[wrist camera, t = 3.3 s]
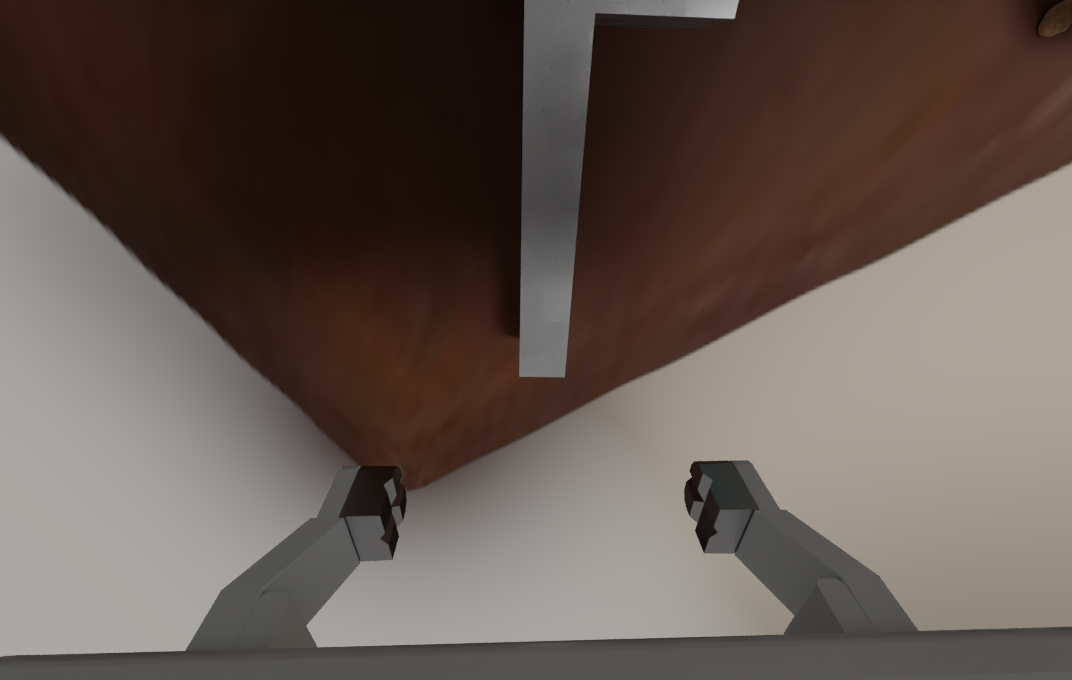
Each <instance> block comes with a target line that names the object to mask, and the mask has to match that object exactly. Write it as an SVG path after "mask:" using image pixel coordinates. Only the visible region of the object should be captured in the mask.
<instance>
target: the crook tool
mask: <svg viewBox="0 0 1072 680" xmlns="http://www.w3.org/2000/svg"><path fill="white" fill-rule="evenodd" d="M738 2H739V0H524V69H523V144H522V220H521V295H520V370H519V377H565V367H566V355H567V343H568V331H569V320H570V308H571V296H572V284H573V272H574V260H575V248H576V236H577V224H578V212H579V200H580V188H581V176H582V164H583V153H584V141H585V129H586V117H587V105H588V93H589V81H590V69H591V57H592V45H593V33H594V26H616V27H640V28H665V29H689V30H697V29H701V28H704V27H708V26H711V25H715V24H718V23H722V22H725V21H729V20H732V19H735V15H736V11H737V6H738Z"/></svg>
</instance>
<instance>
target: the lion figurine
mask: <svg viewBox="0 0 1072 680" xmlns="http://www.w3.org/2000/svg"><path fill="white" fill-rule="evenodd" d="M1071 24H1072V0H1065V1H1062V2H1060V3H1058V4H1057V5H1055V6H1053V7H1052V8H1050V9H1049V10H1048V11H1047V13H1046V14H1045V16H1044V17H1043V19H1042V21H1041V23H1040V25H1039V27H1038V33H1039V35H1040V36H1044V37H1051V36H1054V35H1056V34H1059V33H1061V32H1063V31H1065V30H1067V28H1068V27H1069V26H1070V25H1071Z"/></svg>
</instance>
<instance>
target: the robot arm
mask: <svg viewBox="0 0 1072 680" xmlns="http://www.w3.org/2000/svg"><path fill="white" fill-rule="evenodd" d="M690 473H691V476H692V478H691V479H689V480H688V481H687V482H686V486H685V490H684V494H685V496H684V497H685V504H686V508H687V511H688V513H689V516H690V517H691V518H692V519H694V520H695V521H696V522H697V526H696V529H695V532H696V534H697V537H698V539H699V542H700V544H701V547H702V549H703V552H704V553H736V554H735V556H737V558H739V560H741V562H742V563H743V564H744V565H745V566H746V567H747V568H748V569H749V570H750V571H751V572H752V573H753V574H754V575H755V576H756V577H757V578H758V579H759V580H760V581H761V582H762V583H763V584H764V585H765V586H766V587H767V588H768V589H769V590H770V591H771V592H772V593H773V594H774V595H775V596H776V597H777V598H778V599H779V600H780V601H781V602H782V603H783V604H784V605H785V606H786V607H787V608H788V609H789V610H790V611H791V612H792V613H793V614H794V615H795V616H794V618H793V619H792V621H791V623H790V624H789V626H788V627H787V629H786V631H785V633H784V635H761V636H760V635H759V636H758V635H757V636H723V637H722V636H721V637H684V638H648V639H647V638H646V639H612V640H611V639H608V640H572V641H538V642H537V641H536V642H503V643H465V644H432V645H431V644H430V645H429V644H428V645H394V646H356V647H320V648H317V646H316V644H315V642H314V640H313V638H312V636H311V634H310V632H309V631H308V629H307V627H306V625H307V624H308V623H309V621H310V620H311V619H312V618H313V617H314V616H315V615H316V613H317V612H318V611H319V610H320V609H321V608H322V606H323V605H324V604H325V603H326V602H327V601H328V600H329V598H330V597H331V596H332V595H333V594H334V593H335V591H336V590H337V589H338V588H339V587H340V586H341V585H342V583H343V582H344V581H345V580H346V579H347V578H348V576H349V575H350V574H351V573H352V572H353V571H354V570H355V568H356V567H357V566H358V565H359V564H360V562H359V561H377V560H392V559H393V556H394V552H395V549H396V545H397V541H398V538H399V534H398V530H397V526H399V525H400V523H402V522H403V519H404V515H405V510H406V502H407V498H406V488H405V486H404V485H403V484H402V483H401V479H402V471H401V467H399V466H343V467H342V468H341V469H340V470H339V471H338V473H337V476H336V478H335V480H334V482H333V484H332V486H331V488H330V490H329V492H328V495H327V497H326V499H325V501H324V503H323V505H322V507H321V509H320V512H319V514H318V516H317V518H310V519H309V520H308V521H307V522H305V523H304V524H303V525H302V526H301V527H299V528H298V529H297V530H296V531H294V532H293V533H292V534H291V535H289V536H288V537H287V538H286V539H284V540H283V541H282V542H281V543H279V544H278V545H277V546H276V547H275V548H273V549H272V550H271V551H270V552H268V553H267V554H266V555H265V556H263V557H262V558H261V559H260V560H259V561H257V562H256V563H255V564H253V565H252V566H251V567H250V568H249V569H247V570H246V571H245V572H244V573H242V574H241V575H240V576H239V577H237V578H236V579H235V580H234V581H232V582H231V583H230V584H229V585H227V586H226V587H225V588H224V589H223V590H221V592H220V594H219V595H218V597H217V599H216V600H215V602H214V604H213V605H212V607H211V609H210V611H209V612H208V614H207V615H206V617H205V619H204V620H203V622H202V624H201V626H200V627H199V629H198V631H197V632H196V634H195V636H194V637H193V639H192V641H191V643H190V644H189V646H188V647H187V649H186V651H174V652H173V651H172V652H137V653H136V652H134V653H97V654H58V655H16V656H3V657H0V680H1072V627H1049V628H1048V627H1047V628H1046V627H1045V628H1010V629H973V630H938V631H918V629H917V628H916V627H915V626H914V624H913V622H912V621H911V620H910V618H909V617H908V616H907V614H906V613H905V611H904V610H903V609H902V607H901V606H900V605H899V603H898V602H897V600H896V599H895V598H894V596H893V595H892V593H891V592H890V591H889V589H888V588H887V587H886V585H885V584H884V582H883V581H882V580H881V578H880V577H879V576H878V575H877V574H875V573H874V572H872V571H871V570H870V569H868V568H867V567H865V566H864V565H863V564H861V563H860V562H858V561H857V560H856V559H854V558H853V557H851V556H850V555H848V554H847V553H846V552H844V551H843V550H842V549H840V548H839V547H837V546H836V545H834V544H833V543H832V542H830V541H829V540H827V539H826V538H825V537H823V536H822V535H820V534H819V533H818V532H816V531H815V530H813V529H812V528H810V527H809V526H808V525H806V524H805V523H803V522H802V521H801V520H799V519H798V518H796V517H795V516H794V515H792V514H791V513H789V512H788V511H786V510H780V509H779V507H778V505H777V504H776V502H775V501H774V499H773V497H772V496H771V494H770V492H769V491H768V489H767V488H766V486H765V484H764V483H763V481H762V480H761V478H760V476H759V475H758V473H757V471H756V470H755V468H754V467H753V465H752V463H750V462H749V461H697V462H693V464H692V465H691V468H690Z"/></svg>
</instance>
